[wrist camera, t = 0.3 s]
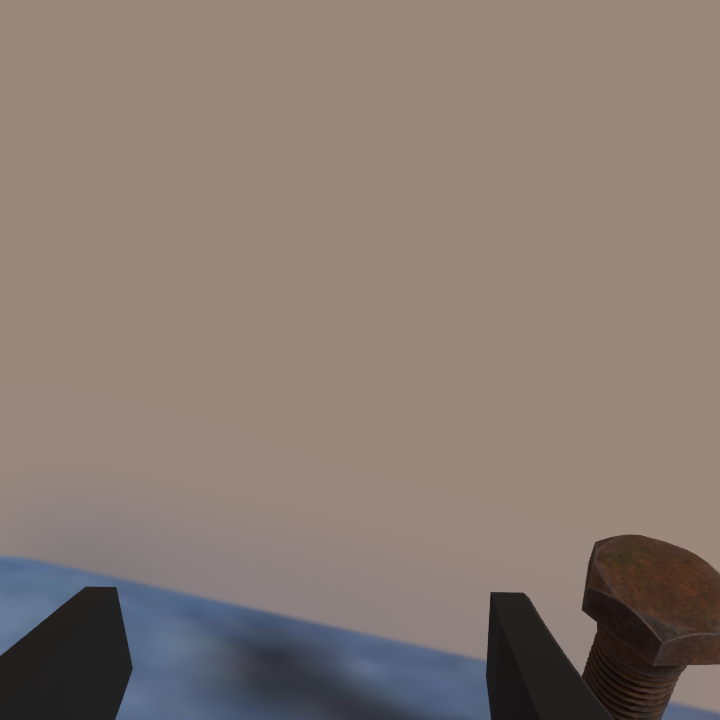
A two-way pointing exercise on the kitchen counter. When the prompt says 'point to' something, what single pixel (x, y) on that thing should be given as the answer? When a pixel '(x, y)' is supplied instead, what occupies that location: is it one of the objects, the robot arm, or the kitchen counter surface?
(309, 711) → the kitchen counter surface
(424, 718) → the kitchen counter surface
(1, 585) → the kitchen counter surface
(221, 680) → the kitchen counter surface
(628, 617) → the bolt
